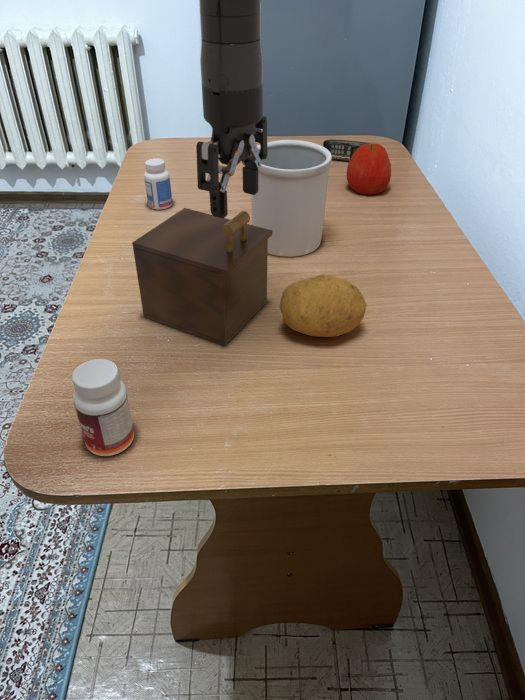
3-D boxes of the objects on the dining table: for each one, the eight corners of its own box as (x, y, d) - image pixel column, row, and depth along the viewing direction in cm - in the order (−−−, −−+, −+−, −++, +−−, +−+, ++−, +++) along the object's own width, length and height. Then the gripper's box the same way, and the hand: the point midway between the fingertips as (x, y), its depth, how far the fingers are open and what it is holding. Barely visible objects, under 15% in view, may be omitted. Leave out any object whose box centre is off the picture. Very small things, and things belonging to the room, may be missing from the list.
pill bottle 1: (76, 437, 72) (57, 370, 65) (119, 414, 75) (104, 348, 68) (100, 466, 68) (82, 399, 61) (144, 441, 71) (132, 374, 64)
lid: (272, 235, 87) (273, 203, 84) (226, 275, 78) (225, 241, 75) (184, 212, 93) (182, 181, 90) (132, 247, 84) (127, 214, 81)
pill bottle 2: (175, 200, 127) (170, 157, 121) (169, 210, 123) (165, 167, 117) (151, 199, 127) (145, 156, 121) (145, 209, 123) (139, 165, 117)
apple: (364, 176, 138) (369, 133, 132) (398, 189, 133) (405, 144, 126) (336, 188, 133) (340, 143, 126) (370, 202, 127) (376, 155, 121)
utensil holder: (329, 258, 107) (337, 168, 96) (251, 260, 107) (250, 169, 96) (319, 223, 119) (325, 139, 108) (248, 224, 118) (248, 139, 107)
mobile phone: (322, 141, 144) (381, 145, 141) (324, 137, 146) (383, 141, 143) (321, 160, 147) (379, 165, 144) (323, 156, 150) (381, 161, 146)
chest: (267, 302, 96) (268, 234, 88) (225, 346, 86) (221, 274, 78) (190, 278, 101) (184, 212, 93) (143, 317, 92) (132, 247, 84)
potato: (373, 300, 80) (364, 261, 87) (279, 304, 80) (277, 265, 87) (368, 348, 87) (360, 308, 93) (281, 351, 87) (279, 311, 94)
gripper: (235, 64, 75) (238, 181, 85) (172, 89, 65) (184, 218, 76) (286, 71, 72) (282, 191, 83) (228, 98, 63) (232, 231, 73)
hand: (235, 204), depth 79 cm, fingers open, 8 cm apart
